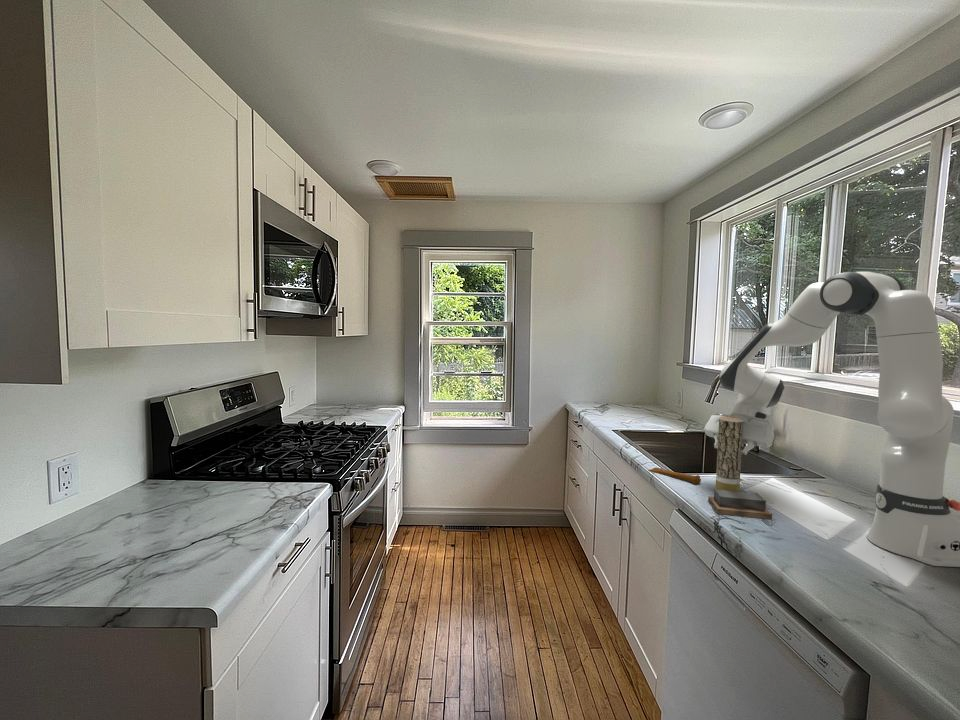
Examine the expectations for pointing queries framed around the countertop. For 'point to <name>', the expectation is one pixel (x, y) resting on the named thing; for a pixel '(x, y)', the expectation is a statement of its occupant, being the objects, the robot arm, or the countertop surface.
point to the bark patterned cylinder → (729, 453)
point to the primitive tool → (678, 475)
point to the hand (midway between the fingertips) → (729, 450)
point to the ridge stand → (739, 504)
